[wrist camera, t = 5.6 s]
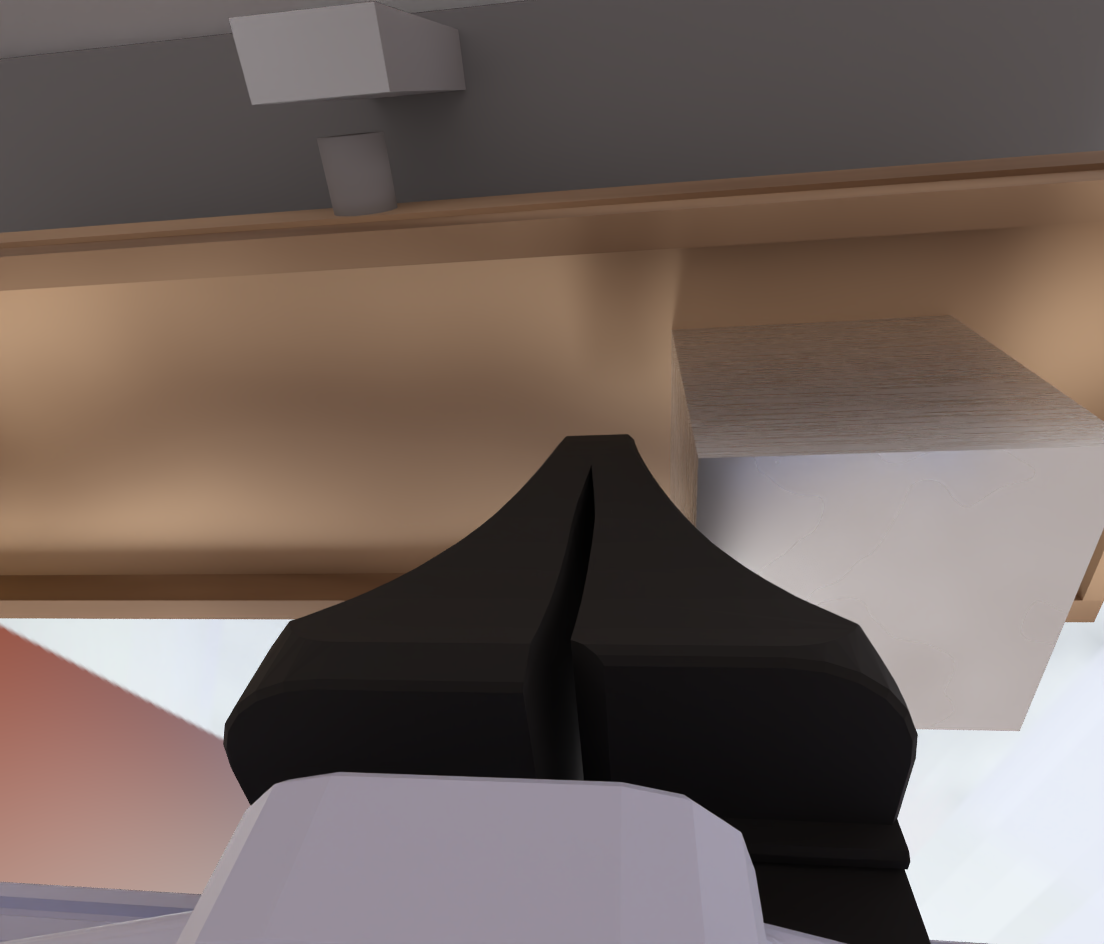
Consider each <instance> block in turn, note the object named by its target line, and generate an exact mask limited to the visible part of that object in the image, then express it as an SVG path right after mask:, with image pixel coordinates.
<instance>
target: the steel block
mask: <svg viewBox="0 0 1104 944" xmlns="http://www.w3.org/2000/svg"><path fill="white" fill-rule="evenodd" d="M670 500H671V501H672V502H673V503H674V504H675V506H676V507H677V508H678V509H679V510H680V511H681V512H682V514H683V515H684V516H685V517H686V518H687V519H688V520H689V521H690V522H691V523H692V524H693V525H694V526H695V527H696V528H697V529H698V530H699V531H700V532H701V533H702V534H703V535H704V536H705V537H707V538H708V539H709V540H710V541H711V542H712V543H713V544H715V545H716V546H717V547H718V548H720V549H721V550H722V551H724V552H725V553H726V554H728V555H729V556H731V557H732V558H733V559H735V560H736V561H738V562H739V563H741V564H742V565H743V566H745V567H746V568H748V569H749V570H751V571H753V572H754V573H756V574H757V575H759V576H761V577H762V578H764V579H766V580H767V581H769V582H771V583H773V584H775V585H776V586H778V587H780V588H782V589H784V590H785V591H787V592H789V593H791V594H793V595H795V596H797V597H799V598H801V599H803V600H805V601H807V602H809V603H812V604H814V605H816V606H819V607H821V608H823V609H825V610H828V611H830V612H832V613H834V614H837V615H839V616H841V617H843V618H846V619H848V620H850V621H852V622H855V623H857V624H859V625H860V626H861V628H862V629H863V631H864V632H865V634H866V636H867V637H868V639H869V640H870V642H871V643H872V645H873V646H874V648H875V649H876V651H877V652H878V654H879V656H880V657H881V659H882V660H883V662H884V664H885V665H886V667H887V668H888V670H889V672H890V673H891V675H892V677H893V678H894V680H895V682H896V684H897V686H898V688H899V690H900V692H901V694H902V696H903V698H904V700H905V702H906V705H907V707H908V710H909V712H910V715H911V718H912V721H913V723H914V726H915V729H943V730H996V731H1020V729H1021V726H1022V724H1023V721H1024V719H1025V717H1026V714H1027V712H1028V709H1029V707H1030V705H1031V702H1032V700H1033V697H1034V695H1035V693H1036V690H1037V688H1038V685H1039V683H1040V681H1041V678H1042V676H1043V673H1044V671H1045V668H1046V666H1047V664H1048V661H1049V659H1050V656H1051V654H1052V652H1053V649H1054V647H1055V644H1056V642H1057V640H1058V637H1059V635H1060V632H1061V630H1062V628H1063V625H1064V623H1065V620H1066V618H1067V616H1068V613H1069V611H1070V608H1071V606H1072V603H1073V601H1074V599H1075V596H1076V594H1077V591H1078V589H1079V587H1080V584H1081V582H1082V579H1083V577H1084V575H1085V572H1086V570H1087V567H1088V565H1089V563H1090V560H1091V558H1092V555H1093V553H1094V551H1095V548H1096V546H1097V543H1098V541H1099V538H1100V536H1101V534H1102V531H1103V529H1104V421H1102V420H1101V419H1100V418H1098V417H1097V416H1095V415H1094V414H1092V413H1091V412H1089V411H1088V410H1087V409H1085V408H1084V407H1082V406H1081V405H1079V404H1078V403H1076V402H1075V401H1074V400H1072V399H1071V398H1069V397H1068V396H1066V395H1065V394H1064V393H1062V392H1061V391H1059V390H1058V389H1056V388H1055V387H1053V386H1052V385H1051V384H1049V383H1048V382H1046V381H1045V380H1043V379H1042V378H1040V377H1039V376H1038V375H1036V374H1035V373H1033V372H1032V371H1030V370H1029V369H1028V368H1026V367H1025V366H1023V365H1022V364H1020V363H1019V362H1017V361H1016V360H1015V359H1013V358H1012V357H1010V356H1009V355H1007V354H1006V353H1004V352H1003V351H1002V350H1000V349H999V348H997V347H996V346H994V345H993V344H992V343H990V342H989V341H987V340H986V339H984V338H983V337H981V336H980V335H979V334H977V333H976V332H974V331H973V330H971V329H970V328H968V327H967V326H966V325H964V324H963V323H961V322H960V321H958V320H957V319H956V318H954V317H953V316H951V315H947V316H928V317H909V318H890V319H871V320H852V321H833V322H814V323H795V324H776V325H757V326H738V327H719V328H700V329H681V330H672V345H671V473H670Z"/></svg>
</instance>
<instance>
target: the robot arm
mask: <svg viewBox="0 0 1104 944" xmlns="http://www.w3.org/2000/svg"><path fill="white" fill-rule="evenodd" d="M917 736H918V734H917V732H916V729H915V726H914V723H913V721H912V718H911V715H910V712H909V710H908V707H907V705H906V702H905V700H904V698H903V696H902V694H901V692H900V690H899V688H898V686H897V684H896V682H895V680H894V678H893V677H892V675H891V673H890V672H889V670H888V668H887V667H886V665H885V664H884V662H883V660H882V659H881V657H880V656H879V654H878V652H877V651H876V649H875V648H874V646H873V645H872V643H871V642H870V640H869V639H868V637H867V636H866V634H865V632H864V631H863V629H862V628H861V626H860V625H859V624H857V623H855V622H852V621H850V620H848V619H846V618H843V617H841V616H839V615H837V614H834V613H832V612H830V611H828V610H825V609H823V608H821V607H819V606H816V605H814V604H812V603H809V602H807V601H805V600H803V599H801V598H799V597H797V596H795V595H793V594H791V593H789V592H787V591H785V590H784V589H782V588H780V587H778V586H776V585H775V584H773V583H771V582H769V581H767V580H766V579H764V578H762V577H761V576H759V575H757V574H756V573H754V572H753V571H751V570H749V569H748V568H746V567H745V566H743V565H742V564H741V563H739V562H738V561H736V560H735V559H733V558H732V557H731V556H729V555H728V554H726V553H725V552H724V551H722V550H721V549H720V548H718V547H717V546H716V545H715V544H713V543H712V542H711V541H710V540H709V539H708V538H707V537H705V536H704V535H703V534H702V533H701V532H700V531H699V530H698V529H697V528H696V527H695V526H694V525H693V524H692V523H691V522H690V521H689V520H688V519H687V518H686V517H685V516H684V515H683V514H682V512H681V511H680V510H679V509H678V508H677V507H676V506H675V504H674V503H673V502H672V501H671V500H670V498H669V497H668V496H667V495H666V493H665V492H664V491H663V489H662V488H661V487H660V485H659V484H658V482H657V481H656V480H655V478H654V477H653V475H652V474H651V472H650V471H649V469H648V468H647V466H646V464H645V463H644V461H643V459H642V457H641V455H640V454H639V452H638V449H637V447H636V444H635V440H634V439H633V438H632V437H631V436H630V435H629V434H613V435H580V436H566V437H565V438H564V439H563V440H562V441H561V442H560V443H559V445H558V446H557V447H556V448H555V450H554V451H553V452H552V453H551V455H550V456H549V457H548V458H547V460H546V461H545V462H544V463H543V464H542V466H541V467H540V468H539V469H538V470H537V471H536V473H535V474H534V475H533V476H532V477H531V478H530V479H529V480H528V481H527V483H526V484H525V485H524V486H523V487H522V488H521V489H520V490H519V491H518V492H517V493H516V494H515V495H514V496H513V497H512V498H511V499H510V500H509V501H508V502H507V503H506V504H505V505H504V506H503V507H502V508H501V509H500V510H499V511H498V512H497V513H495V514H494V515H493V516H492V517H491V518H490V519H488V520H487V521H486V522H485V523H483V524H482V525H481V526H479V527H478V528H477V529H475V530H474V531H473V532H471V533H470V534H469V535H467V536H466V537H465V538H463V539H462V540H460V541H459V542H458V543H456V544H455V545H453V546H451V547H450V548H448V549H446V550H445V551H443V552H442V553H440V554H438V555H437V556H435V557H433V558H432V559H430V560H428V561H427V562H425V563H424V564H422V565H420V566H419V567H417V568H415V569H413V570H411V571H409V572H407V573H405V574H404V575H402V576H400V577H398V578H396V579H394V580H392V581H390V582H388V583H385V584H383V585H381V586H379V587H377V588H375V589H373V590H370V591H368V592H366V593H364V594H361V595H359V596H357V597H354V598H352V599H349V600H347V601H344V602H341V603H339V604H336V605H333V606H331V607H328V608H325V609H323V610H320V611H317V612H315V613H312V614H309V615H307V616H304V617H301V618H298V619H295V620H292V621H290V622H289V623H288V624H287V626H286V627H285V628H284V630H283V631H282V633H281V634H280V636H279V637H278V638H277V640H276V641H275V643H274V644H273V646H272V647H271V649H270V650H269V652H268V653H267V655H266V657H265V658H264V660H263V661H262V663H261V665H260V666H259V668H258V670H257V671H256V673H255V675H254V676H253V678H252V679H251V681H250V683H249V684H248V686H247V688H246V689H245V691H244V693H243V694H242V696H241V697H240V699H239V701H238V702H237V704H236V706H235V707H234V709H233V711H232V712H231V714H230V716H229V718H228V719H227V721H226V723H225V729H224V743H223V744H224V748H225V750H226V754H227V757H228V760H229V763H230V766H231V768H232V770H233V772H234V774H235V776H236V778H237V780H238V782H239V784H240V786H241V788H242V790H243V792H244V794H245V795H246V797H247V799H248V801H249V803H250V805H251V806H250V807H249V808H248V809H247V810H246V811H245V813H244V815H243V817H242V818H241V820H240V822H239V824H238V826H237V828H236V830H235V832H234V834H233V836H232V838H231V840H230V841H229V843H228V845H227V847H226V849H225V851H224V853H223V855H222V857H221V859H220V860H219V862H218V864H217V866H216V868H215V870H214V872H213V874H212V876H211V878H210V880H209V882H208V883H207V885H206V887H205V889H204V891H203V893H202V895H201V894H186V893H170V892H153V891H137V890H121V889H105V888H90V887H74V886H58V885H41V884H25V883H10V882H0V944H986V943H970V942H954V941H938V940H929V937H928V934H927V932H926V929H925V926H924V923H923V920H922V918H921V915H920V912H919V909H918V906H917V903H916V901H915V898H914V895H913V892H912V889H911V887H910V884H909V881H908V878H907V875H906V873H905V870H904V869H908V867H909V864H910V856H909V850H908V847H907V844H906V842H905V839H904V836H903V834H902V831H901V828H900V826H899V823H898V820H897V817H898V814H899V811H900V808H901V804H902V801H903V798H904V794H905V791H906V788H907V785H908V781H909V778H910V775H911V772H912V768H913V765H914V762H915V759H916V747H917Z"/></svg>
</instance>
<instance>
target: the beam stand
mask: <svg viewBox="0 0 1104 944" xmlns="http://www.w3.org/2000/svg"><path fill="white" fill-rule="evenodd" d="M229 22H230V26H231V30H232V33H230V34H221V35H212V36H203V37H194V38H185V39H176V40H167V41H158V42H149V43H140V44H131V45H122V46H113V47H104V48H95V49H86V50H77V51H68V52H59V53H50V54H41V55H32V56H23V57H14V58H5V59H0V233H5V232H19V231H32V230H45V229H59V228H72V227H86V226H99V225H112V224H126V223H139V222H152V221H166V220H179V219H193V218H206V217H219V216H233V215H246V214H260V213H273V212H286V211H300V210H313V209H326V208H333V207H332V202H331V198H330V194H329V190H328V185H327V181H326V177H325V172H324V168H323V164H322V160H321V155H320V151H319V147H318V142H317V138H321V137H329V136H337V135H346V134H357V133H368V132H384V137H385V142H386V147H387V153H388V158H389V164H390V169H391V174H392V180H393V185H394V190H395V196H396V201H397V203H407V202H420V201H433V200H447V199H460V198H474V197H487V196H500V195H514V194H527V193H540V192H554V191H567V190H581V189H594V188H607V187H621V186H634V185H648V184H661V183H674V182H688V181H701V180H714V179H728V178H741V177H755V176H768V175H781V174H795V173H808V172H821V171H835V170H848V169H862V168H875V167H888V166H902V165H915V164H928V163H942V162H955V161H969V160H982V159H995V158H1009V157H1022V156H1035V155H1049V154H1062V153H1076V152H1089V151H1102V150H1104V0H527V1H518V2H509V3H500V4H491V5H482V6H473V7H464V8H455V9H446V10H437V11H428V12H419V13H407V12H404V11H401V10H398V9H395V8H392V7H390V6H387V5H384V4H381V3H378V2H375V1H372V2H363V3H354V4H346V5H337V6H328V7H319V8H311V9H302V10H293V11H284V12H276V13H267V14H258V15H249V16H241V17H232V18H229Z"/></svg>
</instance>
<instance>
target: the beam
mask: <svg viewBox="0 0 1104 944" xmlns="http://www.w3.org/2000/svg"><path fill="white" fill-rule="evenodd" d="M317 142H318V147H319V151H320V155H321V160H322V164H323V168H324V172H325V177H326V181H327V185H328V190H329V194H330V198H331V202H332V207H333V208H326V209H313V210H300V211H286V212H273V213H260V214H246V215H233V216H219V217H206V218H193V219H179V220H166V221H152V222H139V223H126V224H112V225H99V226H86V227H72V228H59V229H45V230H32V231H19V232H5V233H0V618H83V619H298V618H301V617H304V616H307V615H309V614H312V613H315V612H317V611H320V610H323V609H325V608H328V607H331V606H333V605H336V604H339V603H341V602H344V601H347V600H349V599H352V598H354V597H357V596H359V595H361V594H364V593H366V592H368V591H370V590H373V589H375V588H377V587H379V586H381V585H383V584H385V583H388V582H390V581H392V580H394V579H396V578H398V577H400V576H402V575H404V574H405V573H407V572H409V571H411V570H413V569H415V568H417V567H419V566H420V565H422V564H424V563H425V562H427V561H428V560H430V559H432V558H433V557H435V556H437V555H438V554H440V553H442V552H443V551H445V550H446V549H448V548H450V547H451V546H453V545H455V544H456V543H458V542H459V541H460V540H462V539H463V538H465V537H466V536H467V535H469V534H470V533H471V532H473V531H474V530H475V529H477V528H478V527H479V526H481V525H482V524H483V523H485V522H486V521H487V520H488V519H490V518H491V517H492V516H493V515H494V514H495V513H497V512H498V511H499V510H500V509H501V508H502V507H503V506H504V505H505V504H506V503H507V502H508V501H509V500H510V499H511V498H512V497H513V496H514V495H515V494H516V493H517V492H518V491H519V490H520V489H521V488H522V487H523V486H524V485H525V484H526V483H527V481H528V480H529V479H530V478H531V477H532V476H533V475H534V474H535V473H536V471H537V470H538V469H539V468H540V467H541V466H542V464H543V463H544V462H545V461H546V460H547V458H548V457H549V456H550V455H551V453H552V452H553V451H554V450H555V448H556V447H557V446H558V445H559V443H560V442H561V441H562V440H563V439H564V438H565V437H566V436H580V435H613V434H629V435H630V436H631V437H632V438H633V439H634V440H635V444H636V447H637V449H638V452H639V454H640V455H641V457H642V459H643V461H644V463H645V464H646V466H647V468H648V469H649V471H650V472H651V474H652V475H653V477H654V478H655V480H656V481H657V482H658V484H659V485H660V487H661V488H662V489H663V491H664V492H665V493H666V495H667V496H668V497H669V498H670V473H671V345H672V330H681V329H700V328H719V327H738V326H757V325H776V324H795V323H814V322H833V321H852V320H871V319H890V318H909V317H928V316H947V315H951V316H953V317H954V318H956V319H957V320H958V321H960V322H961V323H963V324H964V325H966V326H967V327H968V328H970V329H971V330H973V331H974V332H976V333H977V334H979V335H980V336H981V337H983V338H984V339H986V340H987V341H989V342H990V343H992V344H993V345H994V346H996V347H997V348H999V349H1000V350H1002V351H1003V352H1004V353H1006V354H1007V355H1009V356H1010V357H1012V358H1013V359H1015V360H1016V361H1017V362H1019V363H1020V364H1022V365H1023V366H1025V367H1026V368H1028V369H1029V370H1030V371H1032V372H1033V373H1035V374H1036V375H1038V376H1039V377H1040V378H1042V379H1043V380H1045V381H1046V382H1048V383H1049V384H1051V385H1052V386H1053V387H1055V388H1056V389H1058V390H1059V391H1061V392H1062V393H1064V394H1065V395H1066V396H1068V397H1069V398H1071V399H1072V400H1074V401H1075V402H1076V403H1078V404H1079V405H1081V406H1082V407H1084V408H1085V409H1087V410H1088V411H1089V412H1091V413H1092V414H1094V415H1095V416H1097V417H1098V418H1100V419H1101V420H1102V421H1104V150H1102V151H1089V152H1076V153H1062V154H1049V155H1035V156H1022V157H1009V158H995V159H982V160H969V161H955V162H942V163H928V164H915V165H902V166H888V167H875V168H862V169H848V170H835V171H821V172H808V173H795V174H781V175H768V176H755V177H741V178H728V179H714V180H701V181H688V182H674V183H661V184H648V185H634V186H621V187H607V188H594V189H581V190H567V191H554V192H540V193H527V194H514V195H500V196H487V197H474V198H460V199H447V200H433V201H420V202H407V203H397V201H396V196H395V190H394V185H393V180H392V174H391V169H390V164H389V158H388V153H387V147H386V142H385V137H384V132H368V133H357V134H346V135H337V136H329V137H321V138H317ZM1103 601H1104V529H1103V531H1102V534H1101V536H1100V538H1099V541H1098V543H1097V546H1096V548H1095V551H1094V553H1093V555H1092V558H1091V560H1090V563H1089V565H1088V567H1087V570H1086V572H1085V575H1084V577H1083V579H1082V582H1081V584H1080V587H1079V589H1078V591H1077V594H1076V596H1075V599H1074V601H1073V603H1072V606H1071V608H1070V611H1069V613H1068V616H1067V618H1066V620H1065V622H1094V621H1095V619H1096V616H1097V614H1098V612H1099V610H1100V608H1101V605H1102V603H1103Z"/></svg>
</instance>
